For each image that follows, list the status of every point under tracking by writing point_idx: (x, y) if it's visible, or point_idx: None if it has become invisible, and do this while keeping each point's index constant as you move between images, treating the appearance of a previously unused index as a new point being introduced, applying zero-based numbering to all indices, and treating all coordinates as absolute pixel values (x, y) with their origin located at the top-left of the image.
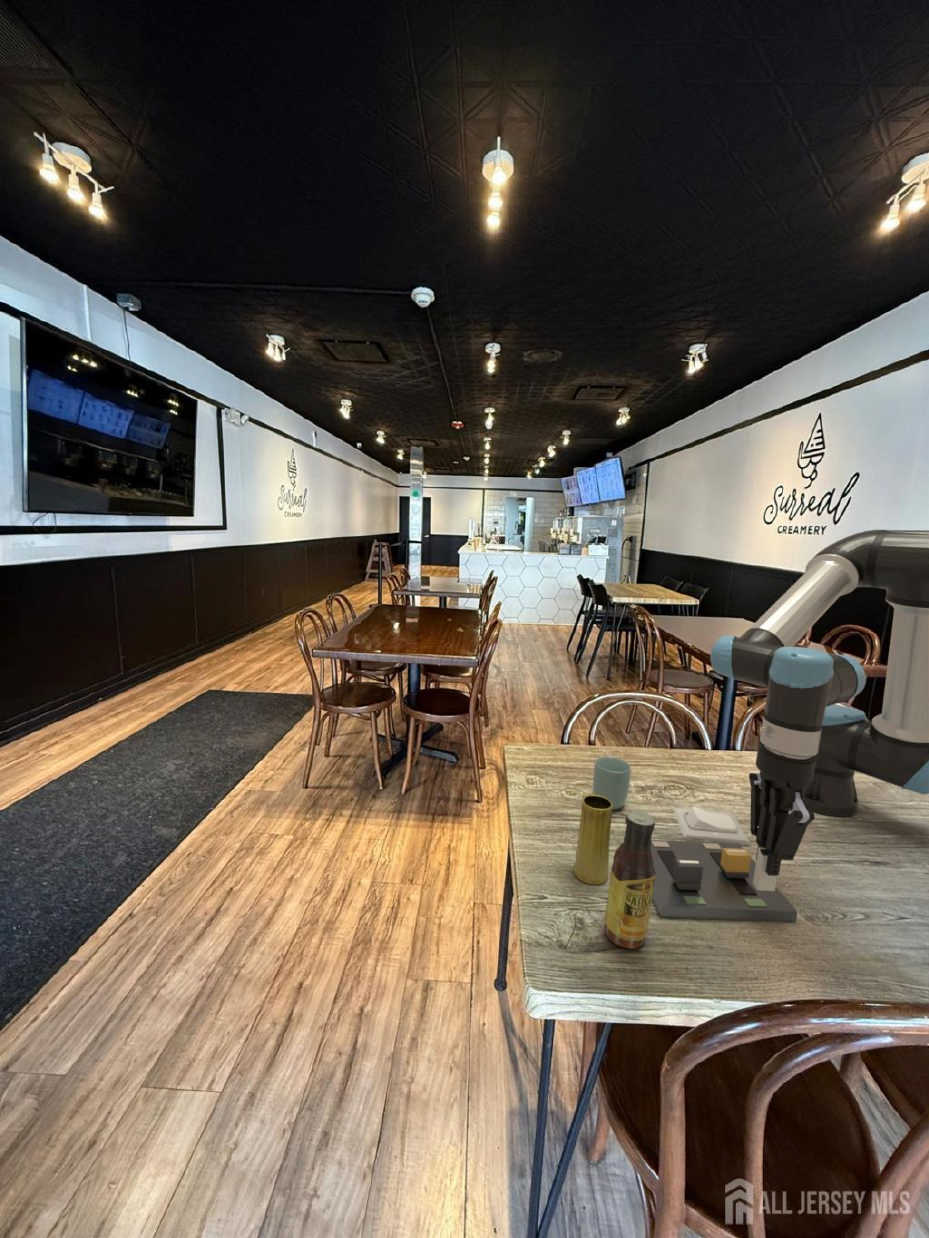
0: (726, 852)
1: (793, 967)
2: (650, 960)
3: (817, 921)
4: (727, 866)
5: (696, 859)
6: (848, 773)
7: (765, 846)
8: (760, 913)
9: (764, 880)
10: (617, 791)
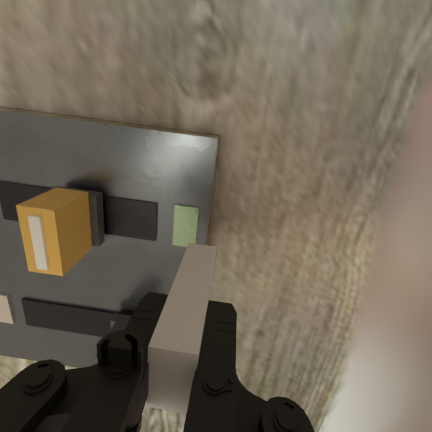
0: (49, 272)
1: (328, 233)
2: None
3: (221, 67)
4: (84, 254)
5: (96, 358)
6: None
7: (145, 392)
8: (208, 223)
9: (209, 299)
10: None
